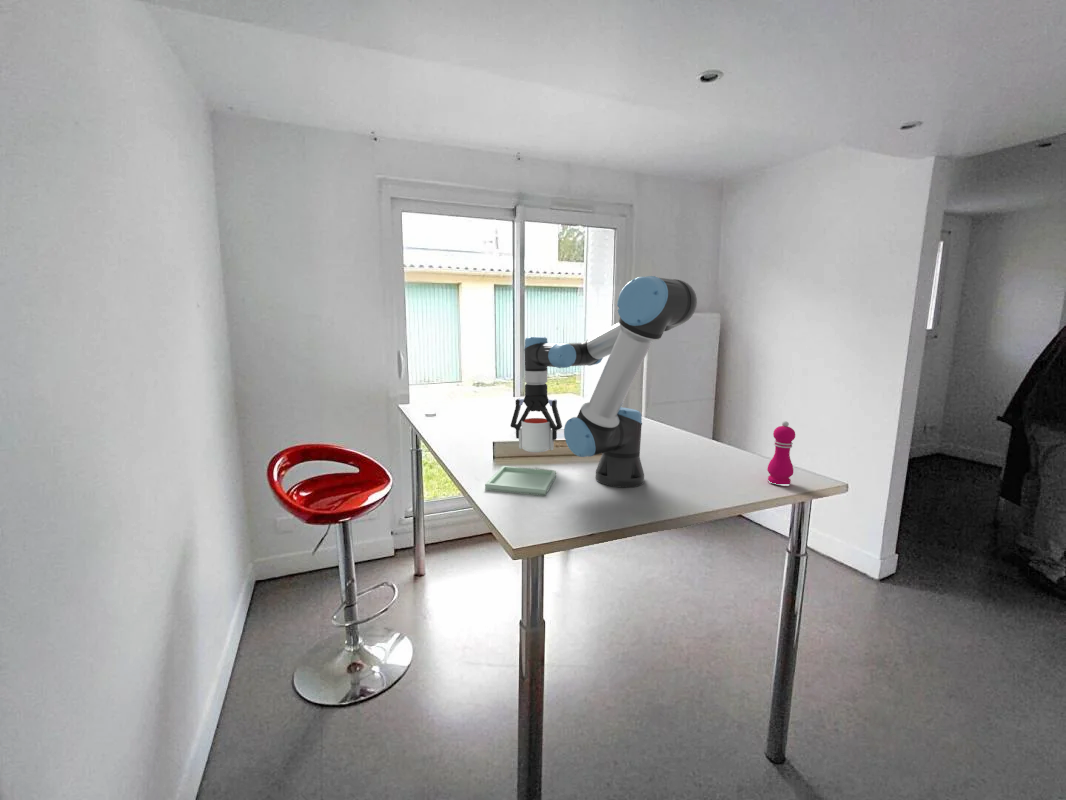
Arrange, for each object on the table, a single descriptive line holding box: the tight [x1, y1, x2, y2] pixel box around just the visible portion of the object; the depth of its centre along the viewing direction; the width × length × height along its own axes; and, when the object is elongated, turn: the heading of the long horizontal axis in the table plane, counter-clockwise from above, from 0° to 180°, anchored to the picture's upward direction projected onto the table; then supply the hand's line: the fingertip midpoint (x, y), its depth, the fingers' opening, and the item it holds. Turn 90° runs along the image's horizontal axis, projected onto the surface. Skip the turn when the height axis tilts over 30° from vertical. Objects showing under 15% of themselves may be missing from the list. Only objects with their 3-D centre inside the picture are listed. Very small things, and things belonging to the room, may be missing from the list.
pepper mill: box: [766, 420, 796, 485], centre depth 145 cm, size 7×7×20 cm
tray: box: [484, 465, 557, 496], centre depth 143 cm, size 18×18×2 cm
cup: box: [520, 417, 552, 453], centre depth 157 cm, size 10×10×10 cm
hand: (536, 448), depth 158 cm, fingers closed on cup, 10 cm apart
